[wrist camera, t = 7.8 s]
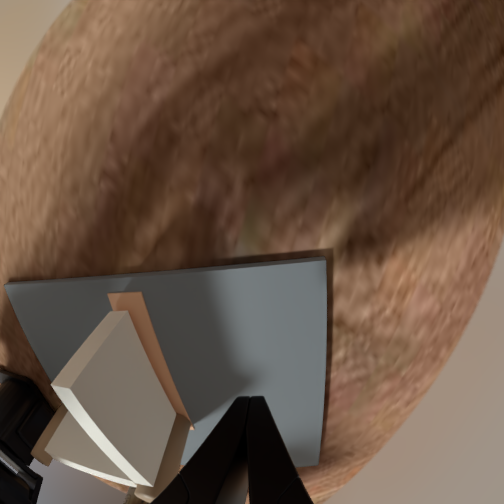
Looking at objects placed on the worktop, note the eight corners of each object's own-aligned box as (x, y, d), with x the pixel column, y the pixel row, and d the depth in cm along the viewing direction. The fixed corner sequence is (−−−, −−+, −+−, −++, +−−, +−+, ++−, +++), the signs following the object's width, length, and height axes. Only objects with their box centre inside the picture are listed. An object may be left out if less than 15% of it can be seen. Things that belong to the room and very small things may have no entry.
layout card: (101, 445, 18) (99, 449, 18) (7, 282, 13) (2, 285, 12) (317, 460, 16) (318, 466, 16) (324, 256, 11) (326, 261, 11)
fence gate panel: (176, 414, 14) (153, 487, 9) (160, 413, 14) (135, 483, 9) (127, 310, 12) (69, 388, 7) (109, 311, 12) (50, 384, 7)
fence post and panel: (73, 409, 16) (40, 463, 11) (61, 392, 15) (25, 448, 10) (194, 429, 15) (174, 508, 10) (186, 411, 14) (161, 496, 9)
